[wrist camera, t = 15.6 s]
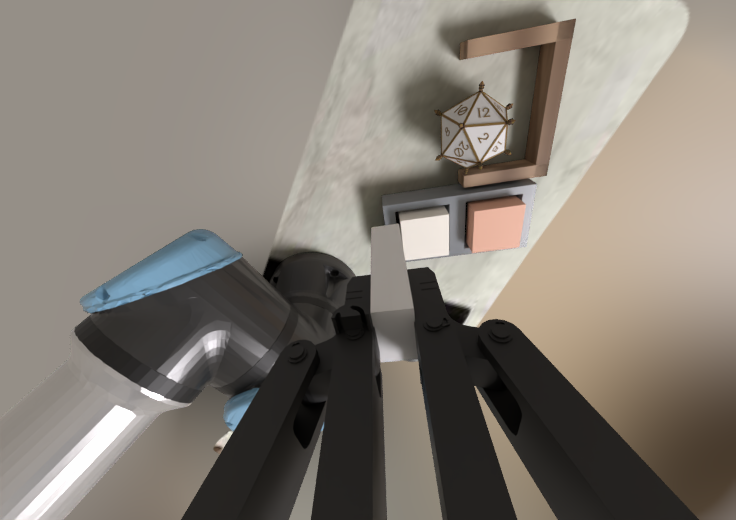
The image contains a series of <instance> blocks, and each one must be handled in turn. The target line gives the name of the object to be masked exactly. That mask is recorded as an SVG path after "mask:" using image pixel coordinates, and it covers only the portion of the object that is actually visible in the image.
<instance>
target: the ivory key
mask: <svg viewBox="0 0 736 520" xmlns="http://www.w3.org/2000/svg"><path fill="white" fill-rule="evenodd" d="M399 221H400V230H401V239H402V244H403V250H404V256H405V261H406V260H414V259H422V258H430V257H438V256H446V255H449V213H448V212H447V210H446V208H445V206H444V205H440V206H433V207H426V208H419V209H412V210H405V211H399Z"/></svg>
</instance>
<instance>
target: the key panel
mask: <svg viewBox="0 0 736 520" xmlns="http://www.w3.org/2000/svg"><path fill="white" fill-rule="evenodd" d="M536 188H537V184H536V183H535V182H533V181H532V180H530V179H529V178H527V179H520V180H513V181H507V182H500V183H493V184H486V185H479V186H473V187H466V188H464V187H463V186H462V185H461V184H455V185H448V186H441V187H434V188H428V189H421V190H414V191H408V192H401V193H394V194H387V195H382V206H383V214H384V221H385V225H392V224H396V217H395V212H398V211H405V210H412V209H419V208H426V207H433V206H440V205H444V206H445V208H446V210H447V212H448V213H449V255H446V256H438V257H430V258H422V259H414V260H406V262H409V261H417V260H425V259H433V258H441V257H449V256H457V255H465V254H473V253H472V251H471V250H470V248H469V246H468V244H467V243H466V234H465V207H466V202H468V201H475V200H482V199H489V198H496V197H503V196H517V197H518V198H519V199H520V200H521V201H523V202H524V203H525V204H526V208H525V214H524V221H523V227H522V233H521V240H520V246H519V247H517V248H521V247H526V246H527V240H528V234H529V228H530V222H531V217H532V211H533V205H534V199H535V193H536ZM509 249H513V248H509ZM501 250H505V249H501ZM493 251H497V250H493ZM485 252H489V251H485ZM477 253H481V252H477Z"/></svg>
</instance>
